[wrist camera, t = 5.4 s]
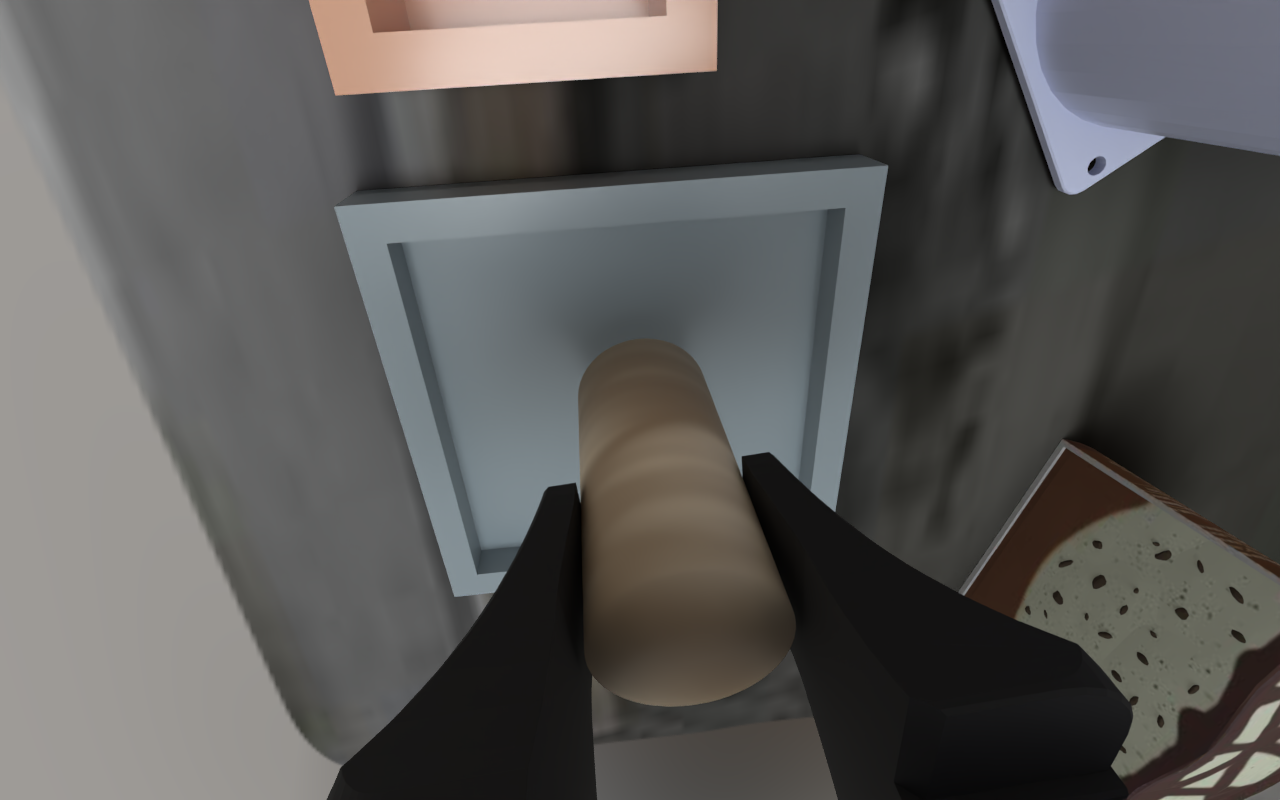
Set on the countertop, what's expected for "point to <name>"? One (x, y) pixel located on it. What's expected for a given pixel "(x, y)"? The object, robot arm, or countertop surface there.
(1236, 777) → the food container
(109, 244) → the countertop surface
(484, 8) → the terracotta square open box
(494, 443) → the slate tray
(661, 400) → the beech dowel
